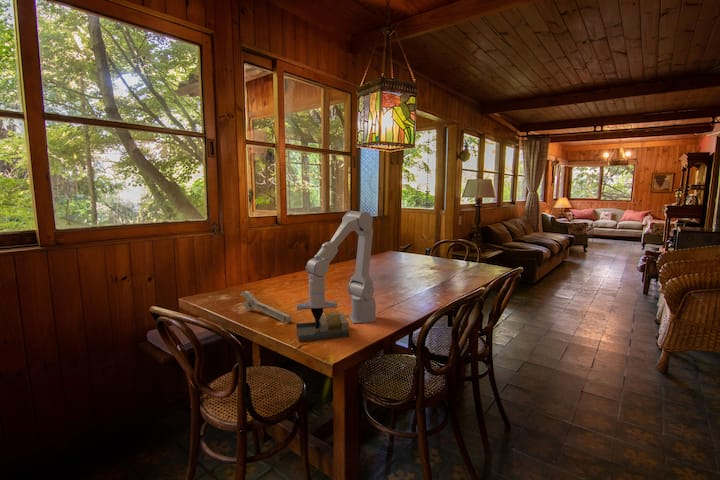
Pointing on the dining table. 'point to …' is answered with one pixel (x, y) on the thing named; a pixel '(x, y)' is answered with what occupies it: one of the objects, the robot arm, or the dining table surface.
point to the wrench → (263, 308)
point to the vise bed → (311, 333)
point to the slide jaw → (323, 324)
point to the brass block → (333, 320)
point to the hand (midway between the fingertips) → (317, 327)
